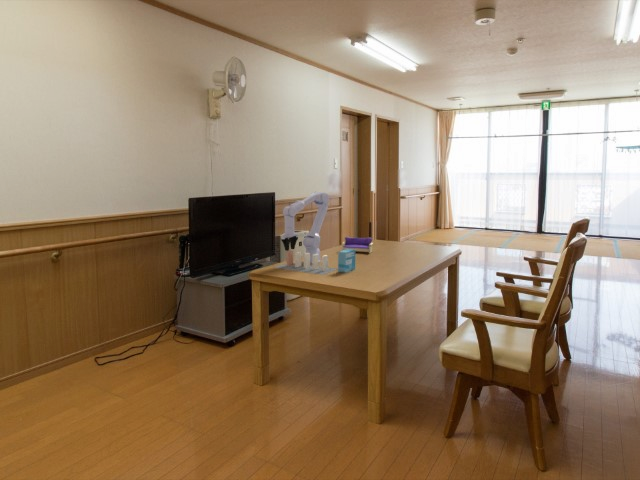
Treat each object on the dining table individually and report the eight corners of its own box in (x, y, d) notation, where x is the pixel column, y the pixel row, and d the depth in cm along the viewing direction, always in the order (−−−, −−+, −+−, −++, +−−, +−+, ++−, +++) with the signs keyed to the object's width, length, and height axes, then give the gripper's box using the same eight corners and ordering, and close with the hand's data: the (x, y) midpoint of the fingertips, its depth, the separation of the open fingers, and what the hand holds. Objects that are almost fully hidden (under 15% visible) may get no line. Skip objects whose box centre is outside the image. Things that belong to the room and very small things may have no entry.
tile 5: (325, 269, 262) (325, 254, 261) (327, 269, 261) (327, 255, 260) (321, 270, 258) (321, 256, 257) (323, 271, 258) (323, 256, 256)
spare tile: (290, 264, 274) (290, 250, 273) (293, 265, 274) (293, 251, 272) (286, 266, 271) (286, 252, 269) (288, 266, 270) (288, 252, 269)
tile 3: (307, 267, 268) (307, 252, 267) (310, 267, 267) (310, 253, 266) (303, 268, 265) (303, 254, 263) (306, 268, 264) (305, 254, 262)
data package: (344, 273, 253) (345, 252, 251) (337, 272, 256) (338, 251, 254) (355, 269, 263) (355, 249, 261) (348, 268, 266) (348, 248, 264)
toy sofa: (341, 252, 319) (341, 237, 317) (344, 250, 327) (344, 236, 325) (370, 254, 312) (371, 239, 311) (373, 252, 321) (373, 237, 319)
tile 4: (316, 268, 265) (316, 253, 264) (318, 268, 264) (318, 254, 263) (312, 269, 262) (312, 255, 260) (314, 269, 261) (314, 255, 259)
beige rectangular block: (299, 265, 271) (299, 251, 270) (301, 266, 271) (301, 252, 269) (295, 267, 268) (295, 253, 266) (297, 267, 267) (297, 253, 266)
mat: (289, 263, 281) (289, 262, 281) (338, 269, 263) (338, 268, 263) (273, 268, 266) (273, 267, 266) (323, 275, 249) (323, 274, 249)
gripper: (291, 225, 277) (291, 247, 279) (276, 227, 265) (277, 250, 267) (300, 226, 273) (300, 248, 275) (286, 228, 261) (286, 252, 263)
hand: (289, 249), depth 271 cm, fingers open, 5 cm apart
